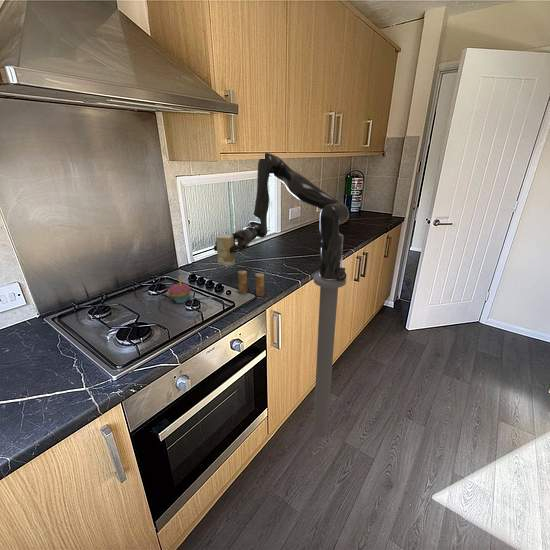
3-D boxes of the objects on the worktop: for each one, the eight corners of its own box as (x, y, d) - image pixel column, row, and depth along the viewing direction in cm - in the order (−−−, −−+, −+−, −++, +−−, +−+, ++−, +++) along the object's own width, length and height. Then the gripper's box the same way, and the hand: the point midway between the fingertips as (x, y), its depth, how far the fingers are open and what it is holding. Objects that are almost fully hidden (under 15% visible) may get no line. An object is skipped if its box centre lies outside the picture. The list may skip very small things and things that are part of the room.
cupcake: (196, 299, 119) (192, 272, 115) (179, 307, 113) (174, 279, 108) (182, 293, 124) (178, 267, 119) (165, 302, 118) (160, 274, 113)
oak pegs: (266, 293, 123) (265, 273, 120) (262, 296, 120) (261, 276, 117) (241, 289, 127) (240, 269, 124) (237, 292, 124) (236, 273, 121)
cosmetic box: (217, 265, 123) (214, 237, 118) (221, 261, 127) (218, 234, 122) (232, 265, 122) (230, 237, 117) (235, 262, 126) (233, 234, 121)
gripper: (227, 229, 135) (206, 239, 121) (255, 231, 130) (237, 242, 116) (228, 244, 138) (208, 256, 124) (256, 247, 133) (238, 260, 119)
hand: (222, 249), depth 120 cm, fingers closed on cosmetic box, 7 cm apart
